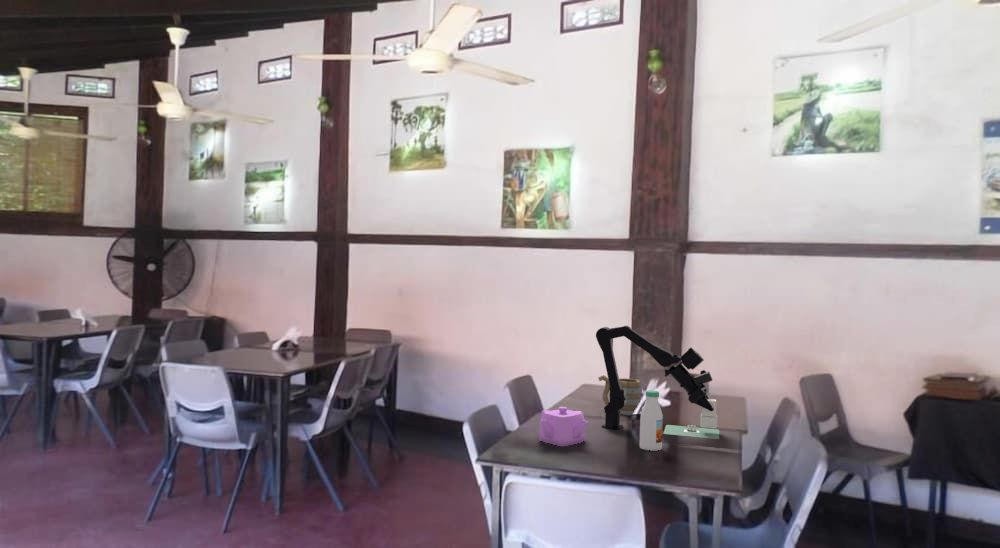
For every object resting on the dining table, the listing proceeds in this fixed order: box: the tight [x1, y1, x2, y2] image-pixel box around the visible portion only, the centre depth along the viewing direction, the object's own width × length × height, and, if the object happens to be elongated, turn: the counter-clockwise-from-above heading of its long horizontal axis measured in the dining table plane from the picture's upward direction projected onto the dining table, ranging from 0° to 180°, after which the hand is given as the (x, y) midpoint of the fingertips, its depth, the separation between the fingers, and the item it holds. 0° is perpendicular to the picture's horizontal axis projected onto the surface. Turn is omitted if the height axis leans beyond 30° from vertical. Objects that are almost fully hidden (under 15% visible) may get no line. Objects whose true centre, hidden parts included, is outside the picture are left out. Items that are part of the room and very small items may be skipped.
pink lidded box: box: [538, 406, 589, 446], centre depth 248 cm, size 17×17×12 cm
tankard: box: [598, 375, 643, 416], centre depth 304 cm, size 20×13×15 cm, turn 58°
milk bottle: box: [639, 390, 664, 452], centre depth 241 cm, size 8×8×20 cm
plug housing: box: [699, 398, 718, 429], centre depth 261 cm, size 6×5×10 cm
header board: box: [662, 424, 720, 440], centre depth 263 cm, size 20×16×4 cm
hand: (712, 409), depth 261 cm, fingers closed on plug housing, 5 cm apart
